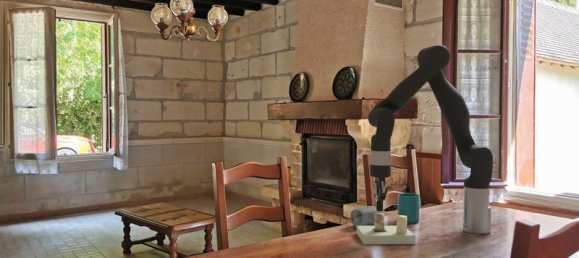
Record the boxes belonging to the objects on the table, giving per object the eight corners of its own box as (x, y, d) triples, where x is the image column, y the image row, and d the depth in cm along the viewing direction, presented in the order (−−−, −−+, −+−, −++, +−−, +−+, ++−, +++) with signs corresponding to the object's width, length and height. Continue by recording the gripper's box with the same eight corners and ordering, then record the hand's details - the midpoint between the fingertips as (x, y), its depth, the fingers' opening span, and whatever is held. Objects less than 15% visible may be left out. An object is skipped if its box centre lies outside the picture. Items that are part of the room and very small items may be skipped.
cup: (428, 220, 198) (428, 194, 197) (410, 224, 190) (411, 197, 190) (410, 216, 205) (410, 191, 204) (393, 220, 197) (393, 194, 197)
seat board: (403, 233, 176) (404, 209, 176) (415, 243, 162) (415, 218, 162) (356, 233, 175) (356, 210, 175) (364, 244, 161) (364, 218, 161)
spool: (358, 223, 178) (358, 198, 182) (345, 229, 185) (345, 205, 190) (388, 229, 182) (387, 205, 187) (374, 235, 190) (373, 211, 195)
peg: (382, 237, 170) (383, 212, 170) (385, 240, 167) (385, 215, 167) (373, 237, 170) (373, 213, 170) (375, 240, 167) (375, 215, 166)
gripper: (395, 165, 161) (394, 215, 162) (386, 161, 174) (385, 207, 175) (374, 165, 161) (373, 215, 161) (366, 161, 174) (365, 207, 175)
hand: (379, 210), depth 168 cm, fingers closed
